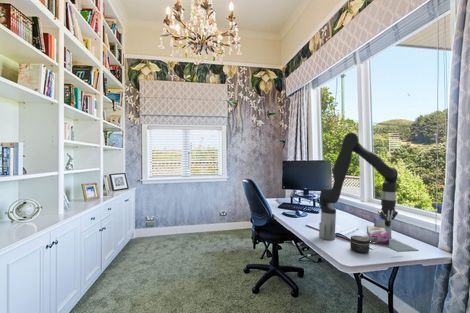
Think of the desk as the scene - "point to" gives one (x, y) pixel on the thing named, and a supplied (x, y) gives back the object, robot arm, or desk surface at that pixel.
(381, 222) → the ink cartridge box
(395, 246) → the mat
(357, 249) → the jar
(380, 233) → the candy bar box
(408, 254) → the desk surface
